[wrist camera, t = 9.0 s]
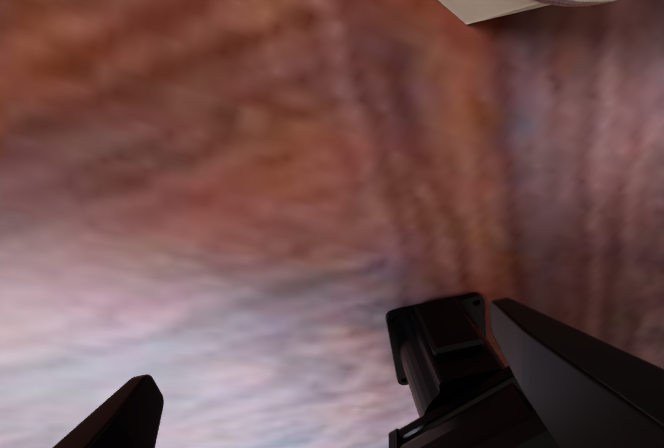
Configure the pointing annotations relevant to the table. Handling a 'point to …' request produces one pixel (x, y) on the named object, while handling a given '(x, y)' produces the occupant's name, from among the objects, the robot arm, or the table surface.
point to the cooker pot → (487, 8)
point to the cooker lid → (574, 2)
